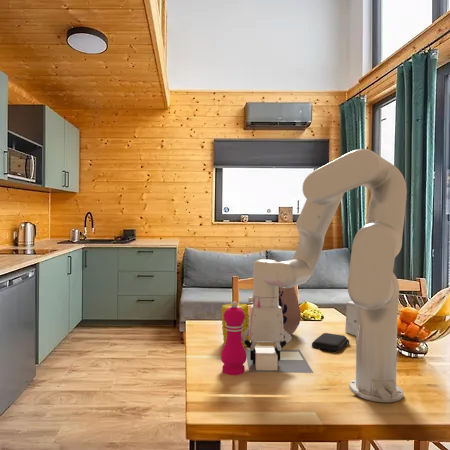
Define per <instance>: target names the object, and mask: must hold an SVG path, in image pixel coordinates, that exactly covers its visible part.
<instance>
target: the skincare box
mask: <svg viewBox="0 0 450 450" xmlns="http://www.w3.org/2000/svg"><path fill="white" fill-rule="evenodd" d="M357 307H358V306H357V305H355V304H354V303H353V301H352V300H351V301H347V302H346V306H345V308H346V309H345V311H346V312H345V333H347V334H350V335H353V336H354V337H355V336H356V325H357Z"/></svg>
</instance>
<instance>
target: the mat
mask: <svg viewBox="0 0 450 450" xmlns="http://www.w3.org/2000/svg"><path fill="white" fill-rule="evenodd" d="M244 349H245V348H244ZM245 351H246V357H247V358H246V362H247V366H248V373H281V374H283V373H285V374H286V373H288V374H289V373H295V374H296V373H298V374H301V373H303V374H304V373H305V374H307V373H308V374H314V371H313V370H312V368H311V366H310V365H309V362H308V361H307V359H306V358H305V356H304V354H303V352H302V351H301V350H300V349H282V350H281V351H280V361H278V364H277V370H256V367H255V364H253V361H252V360H250V348H246V349H245Z"/></svg>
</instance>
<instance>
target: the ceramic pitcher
mask: <svg viewBox="0 0 450 450" xmlns="http://www.w3.org/2000/svg"><path fill="white" fill-rule="evenodd" d="M279 306H280V307H281V308H282V314H283V328H284V329H285V330H286V331H287V332H288V333H289V334H290V336H291V335H292V334H294V333H295V332H296V330H297V328H298V327H299V326H300V323H301V317H302V316H301V313H302V312H301V308H300V304H299V299H298V296H297V293H296V290H295V287H292V288H281V287H279ZM283 338H285V336H284V337H283Z"/></svg>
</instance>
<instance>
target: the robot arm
mask: <svg viewBox="0 0 450 450" xmlns="http://www.w3.org/2000/svg"><path fill="white" fill-rule="evenodd" d="M360 186H361V187H364V188H367V189H368V190H369V191H370V198H369V203H368V208H367V218H366V224H365V225H363V226H361V228H360V229H359V230H358V231H357V232H356V233H355V236H354V238H353V242H352V246H351V253H350V260H349V269H348V277H347V293H348V296H349V297H350V300H351V301H353V303H354V304H355V305H357V306H358V307H357V325H356V337H355V338H356V339H355V378H354V379H351V380H350V381H349V384H348V387H349V389H350V391H351V392H353V394H354V395H355V396H356V397H360V399H361V398H362V399H364V400H367V401H371V402H375V403H376V402H377V403H394V402H398V401H400V400H402V399H403V397H404V391H403V389H402V388H401V387H400V386H399V385H397V367H398V366H397V364H398V363H397V362H398V361H397V359H398V358H397V357H398V356H397V355H398V354H397V353H398V346H397V345H398V341H397V340H398V315H399V314H398V310H399V300H400V285H399V284H400V283H399V280H398V279H397V278H398V277H397V276H396V275H395V273H394V266H395V258H396V257H397V256H398V255H399V253H401V249H402V247H403V234H404V225H405V213H406V203H407V192H408V190H407V183H406V180H405V178H404V175H403V173H402V172H401V171H400V169H399V168H398V167H396V166H395V165H394V164H392V163H391V162H390V161H388V160H386V159H385V158H383V157H382V156H380V155H379V154H377V153H376V152H375V151H373V150H370V149H368V148H359V149H355V150H352V151H350V152H347V153H345V154H343V155H341V156H340V157H338V158H335V159H334V160H333V161H330V162H328V163H326V164H325V165H322V166H321V167H319V168H317V169H314V170H313V171H312V172H311V173H309V174H308V175H307V176H306V177H305V179H304V180H303V183H302V193H303V196H304V198H305V199H306V200H305V202H304V204H303V207H302V209H301V211H300V214H299V215H298V218H297V220H296V224H295V225H296V230H297V231H298V237H299V240H298V243H297V244H298V245H297V247H296V250H295V252H294V254H293V257H292V258H291V259H289V260H284V261H277V260H276V259H275V260H274V259H256V260H255V261H254V262H253V267H252V268H253V273H252V276H253V280H252V281H253V283H252V289H253V290H252V291H253V292H252V296H250V297H248V298H247V302H248V303H252V305H250V308H249V314H248V315H249V323H248V327H247V328H246V329H245V330H244V331H243V332H242V333H241V340H242V341H243V342H244V343H245V344H246V345H247V346H246V347H247V348H248V349H250V360H252V361H253V364H255V354H256V350H255V346H257V343H274V344H275V347H274V349H275V352H276V354H277V356H278V361H280V351H281V350H283V348H284V347H285V346H286V345H287V344H288V343H289V342H290V341H291V340H292V338H293V337H292V336H291V335H290V334H289V333H288V332H287V331H286V330H285V329H284V328H283V314H282V308H281V307H280V306H279V287H281V288H292V287H294V288H295V287H297V286H300V285H303V284H305V283H306V282H307V281H309V279H310V278H311V277H312V275H313V272H315V269H316V267H317V264H318V262H319V260H320V258H321V255H322V251H323V247H324V243H325V236H326V234H327V231H328V229H329V228H330V226H331V222H332V220H333V218H334V216H335V214H336V212H337V210H338V208H339V206H340V203H341V201H342V200H343V197H344V194H345V193H348V192H349V191H351V190H354V189H356V188H357V187H360ZM247 335H249V339H250V341H249V340H248V339H246V336H247ZM284 336H285V337H284Z"/></svg>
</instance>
